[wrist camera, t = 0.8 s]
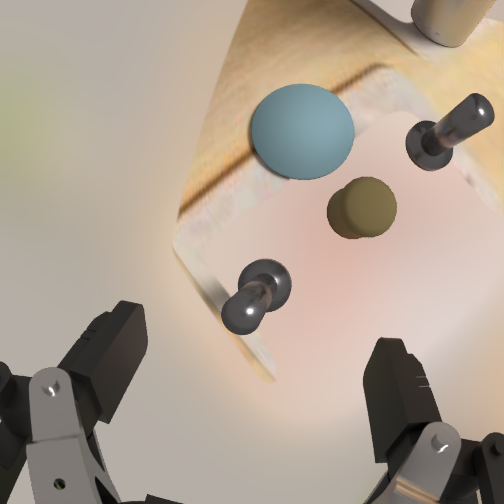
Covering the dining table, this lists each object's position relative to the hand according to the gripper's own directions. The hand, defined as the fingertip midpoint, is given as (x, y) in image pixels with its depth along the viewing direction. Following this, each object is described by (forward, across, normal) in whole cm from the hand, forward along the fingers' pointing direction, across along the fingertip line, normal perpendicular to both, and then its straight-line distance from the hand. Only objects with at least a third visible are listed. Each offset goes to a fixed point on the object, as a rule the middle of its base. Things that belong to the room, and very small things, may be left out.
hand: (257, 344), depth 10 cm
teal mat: (+30, -2, -5) cm, 31 cm away
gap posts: (+26, -9, +3) cm, 28 cm away
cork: (+26, -9, +3) cm, 28 cm away
